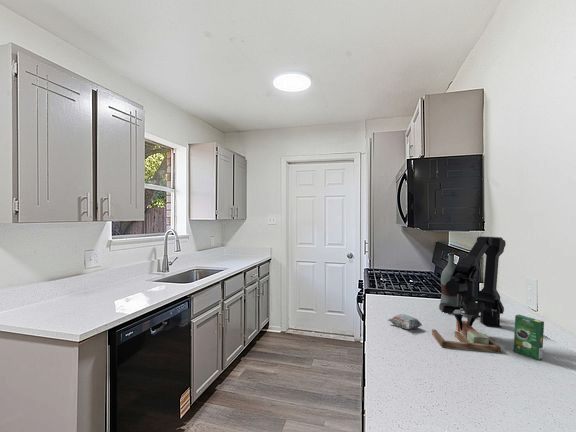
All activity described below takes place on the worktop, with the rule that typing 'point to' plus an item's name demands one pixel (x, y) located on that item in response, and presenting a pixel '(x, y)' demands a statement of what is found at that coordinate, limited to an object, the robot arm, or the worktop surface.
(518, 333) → the coffee box
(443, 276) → the bottle
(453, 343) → the lane rack
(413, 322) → the packaged food
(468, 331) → the block
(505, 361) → the worktop surface
